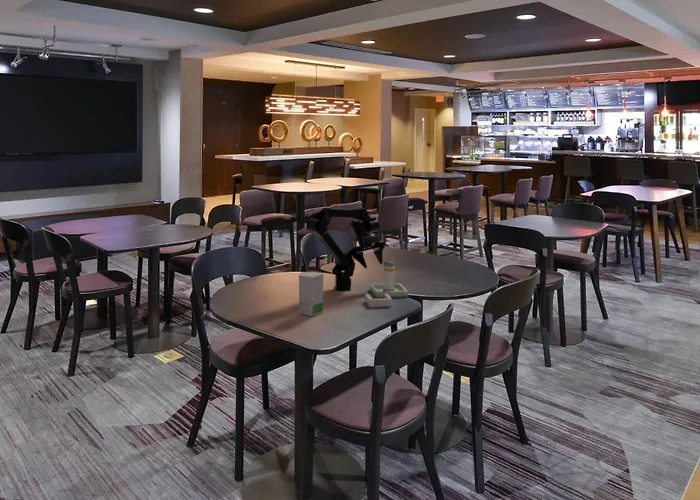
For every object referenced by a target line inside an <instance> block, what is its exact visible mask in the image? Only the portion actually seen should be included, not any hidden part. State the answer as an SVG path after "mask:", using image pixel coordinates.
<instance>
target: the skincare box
mask: <svg viewBox="0 0 700 500" xmlns="http://www.w3.org/2000/svg"><path fill="white" fill-rule="evenodd" d="M298 308H299V309H298V314H299V315H301V316H305V317H307V316H308V317H314V316H316V315H319V314H321V313H323V312H324V273H321V272H320V273H319V272H312V271H310V272H306V273H302V274H299V275H298Z"/></svg>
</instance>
